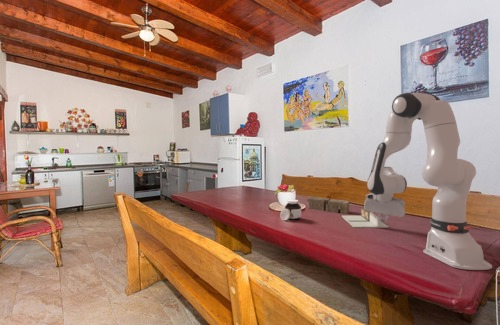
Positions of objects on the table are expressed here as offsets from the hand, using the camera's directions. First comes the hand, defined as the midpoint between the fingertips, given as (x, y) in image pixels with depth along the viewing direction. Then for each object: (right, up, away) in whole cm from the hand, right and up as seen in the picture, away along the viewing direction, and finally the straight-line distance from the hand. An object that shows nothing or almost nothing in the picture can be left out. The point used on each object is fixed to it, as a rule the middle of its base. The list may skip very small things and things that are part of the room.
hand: (383, 221), depth 143 cm
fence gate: (-2, -2, +6) cm, 7 cm away
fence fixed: (-1, -3, +18) cm, 19 cm away
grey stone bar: (-17, -2, +44) cm, 47 cm away
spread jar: (-47, -4, +22) cm, 52 cm away
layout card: (-5, -3, +14) cm, 15 cm away
